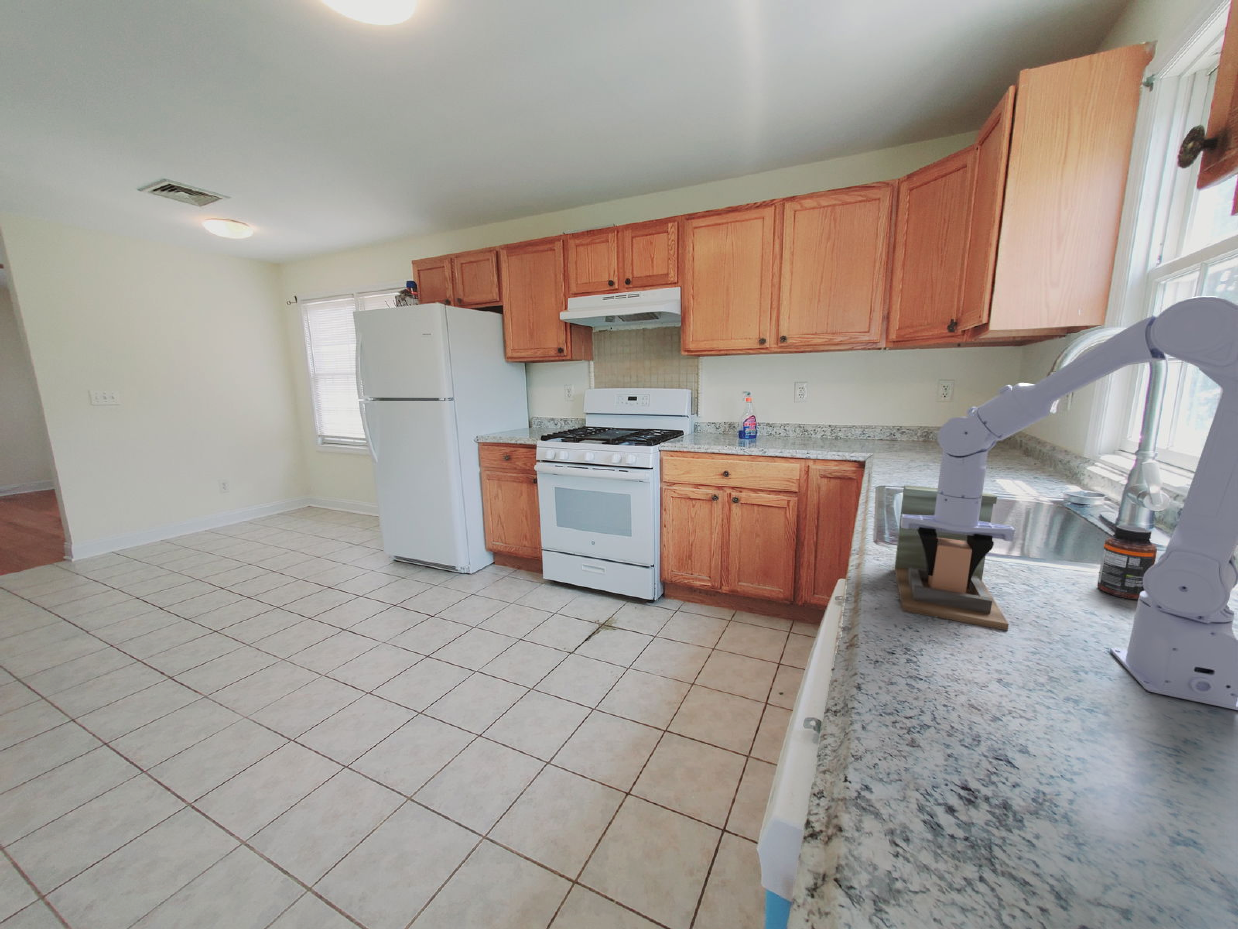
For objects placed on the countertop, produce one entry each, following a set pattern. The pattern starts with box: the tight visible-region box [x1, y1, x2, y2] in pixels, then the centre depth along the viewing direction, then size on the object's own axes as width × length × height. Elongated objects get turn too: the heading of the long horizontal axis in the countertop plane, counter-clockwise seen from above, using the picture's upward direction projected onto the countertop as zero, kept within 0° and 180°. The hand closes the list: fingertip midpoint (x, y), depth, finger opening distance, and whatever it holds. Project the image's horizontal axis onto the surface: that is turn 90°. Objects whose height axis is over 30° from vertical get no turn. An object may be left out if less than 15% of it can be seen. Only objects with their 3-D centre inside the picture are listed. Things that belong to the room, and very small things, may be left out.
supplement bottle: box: [1096, 524, 1158, 600], centre depth 79 cm, size 6×6×11 cm
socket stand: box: [894, 484, 1010, 631], centre depth 77 cm, size 18×13×16 cm
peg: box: [928, 537, 972, 594], centre depth 76 cm, size 4×4×8 cm
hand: (947, 576), depth 77 cm, fingers closed on peg, 4 cm apart
